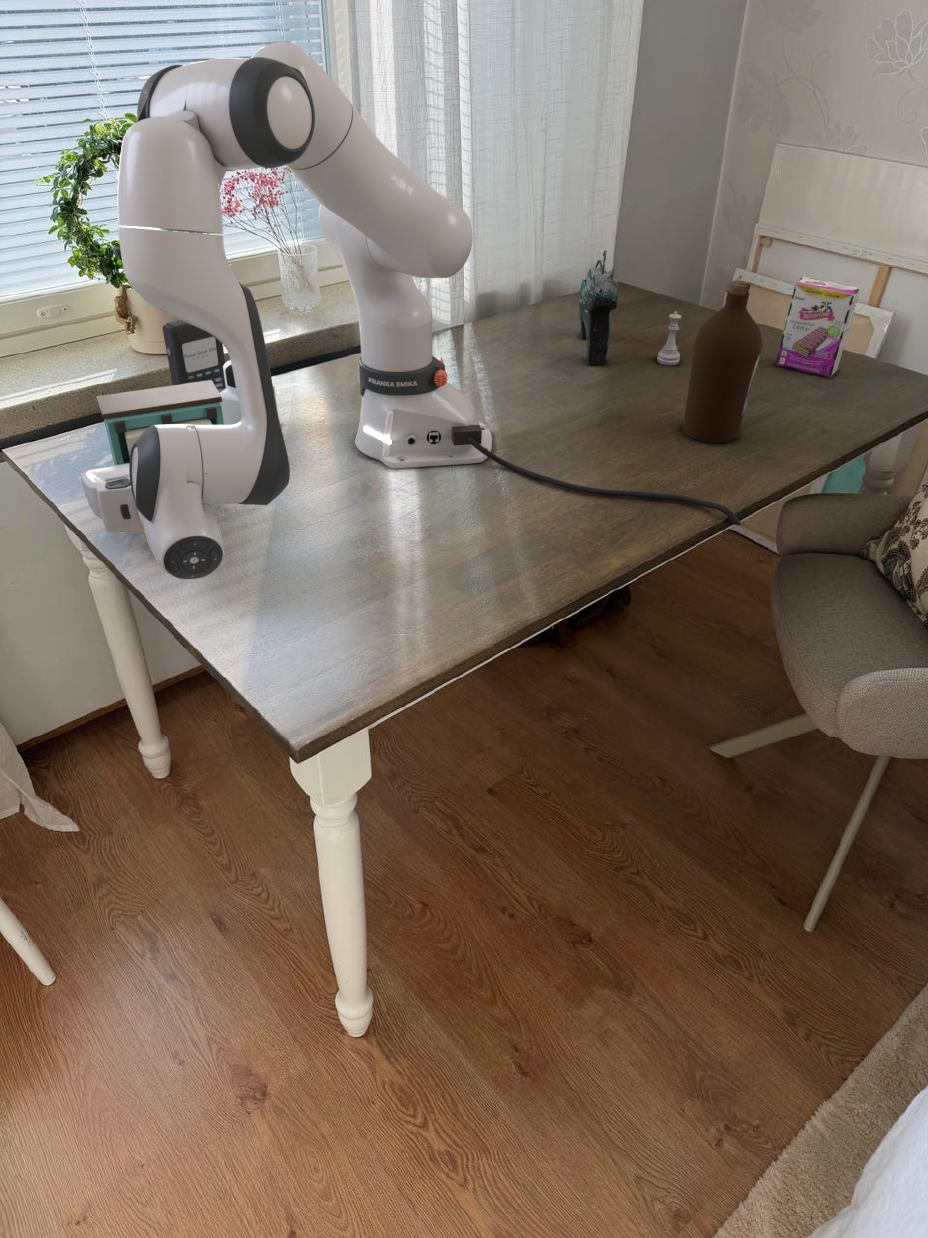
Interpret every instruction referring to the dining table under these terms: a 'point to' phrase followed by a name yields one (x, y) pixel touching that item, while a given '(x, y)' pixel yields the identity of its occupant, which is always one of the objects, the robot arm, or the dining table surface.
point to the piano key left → (133, 436)
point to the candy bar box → (817, 326)
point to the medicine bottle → (231, 397)
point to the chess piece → (670, 343)
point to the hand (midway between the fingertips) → (152, 454)
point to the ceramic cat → (597, 311)
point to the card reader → (193, 354)
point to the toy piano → (156, 410)
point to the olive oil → (723, 370)
